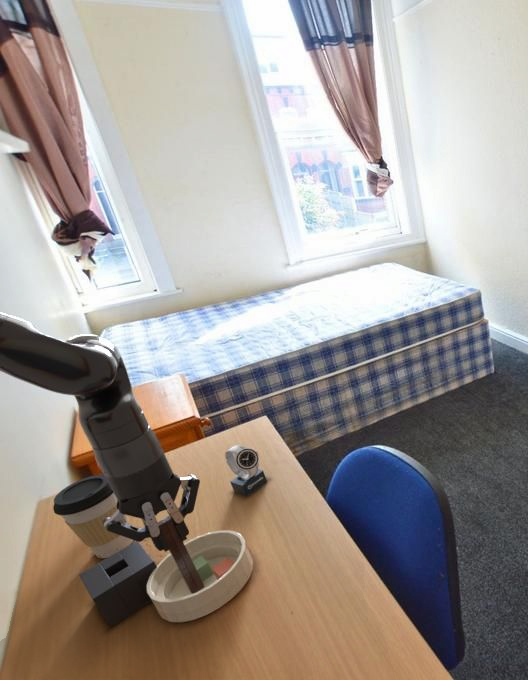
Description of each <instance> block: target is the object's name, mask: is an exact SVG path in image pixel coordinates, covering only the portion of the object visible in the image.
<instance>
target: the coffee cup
mask: <svg viewBox="0 0 528 680" xmlns="http://www.w3.org/2000/svg"><path fill="white" fill-rule="evenodd" d="M52 509H53V512H54V514H55V515H57V516H61V517H62V519H63V520H64V523H65V524H66V525H67V526H68V527H69V529H70V530H71V531H72V532H73V533H74V534H75V535H76V537H77V538H79V540H80V541H81V542H82V543H83V544H84V545H85V546H86V547H87V548H89V550H90V551H92V553H93V554H94V555H95V556H96V557H97V558H99V559H107V558H108V557H110V556H112V555H114V554H115V553H117V552H119V551H120V550H122V549H124V548H125V547H127V546H129V545H131V544H132V543H133V542H134V540H132V539H129V538H126V537H124V536H121V535H118V534H115V533H112V532H109V531H108V530H107V529H106V528H105V526H104V525H103V523H102V522H103V520H104V519H105V518H108V517H111V516H112V515H113V514H114V513H115V512H116V511H117V510H118V509H117V498H116V496H115V494H114V492H113V490H112V489H111V487H110V485H109V483H108V481H107V479H106V477H105V475H104V474H95V475H90V476H87V477H84V478H82V479H79V480H77V481H75V482H73V483H71V484H69V485H68V486H65V488H62V490H60V491H59V492H58V493H57V494H56V495H55V497H54V499H53V507H52ZM124 519H125V520H126V523H127V524H129V525H130V520H129V517H128V515H124Z"/></svg>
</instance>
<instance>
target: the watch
mask: <svg viewBox="0 0 528 680" xmlns="http://www.w3.org/2000/svg"><path fill="white" fill-rule="evenodd" d="M224 457H225V460H226V464H227V465H228V467H229V469H230V470H231V472H233V474H234V475H237V476H236V477H234V478H232V479H231V480H230V481H229V482H230V485H231V487H232V490H233V493H236V494H239V495H242V496H244V497H248V496H249V495H251V494H252V493H253V492H254V491H256V490H257V489H259V488H260V487H261V486H262V485H264V484H265V483H267V482H268V480H267V477H266V474H265V472H264V470H263V469H260V468H259V466H260V463H259V461H260V458H259V457H260V456H259V452H258V451H257V450H254V449H253V448H249V447H247V446H246V445H244V446H243V445H240V444H236V445H233V446H232V447H231V448H229V449H228V450H225V452H224Z"/></svg>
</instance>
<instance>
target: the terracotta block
mask: <svg viewBox="0 0 528 680" xmlns="http://www.w3.org/2000/svg"><path fill="white" fill-rule="evenodd" d="M233 565H234V562H233V561H232V560H231V559H230V558H227V559H226V560H224V561H223V562H221V563H220V564H218V565H217V566H215V567H214V568H212V570H213V572H214V574H215V576H216V579H217V580H218V579H220V578H221V577H222V576H223V575H224V574H225V573H226V572H227V571H228V570H229V569H230V568H231V567H232V566H233Z"/></svg>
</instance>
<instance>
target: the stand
mask: <svg viewBox="0 0 528 680" xmlns="http://www.w3.org/2000/svg"><path fill="white" fill-rule="evenodd" d="M156 568H157V564H156V562H155V561H154V560H153V558H152V557H151V556H150V555H149V553H148V552H147V551H146V549H145V548H144V546H143V545H142V544H141V543H140V542H138V541H133V542H132V543H131V544H130V545H129V546H127V547H125V548H124V549H122V550H120V551H119V552H117V553H115V554H114V555H112V556H110V557H108V558H104V559H103V560H101V561H100V562H98V563H96V564H95V565H93V566H91V567H89V568H87V569H86V570H84V571H82V572H80V573H79V574H78V576H79V578H80V581H81V582H82V584H83V586H84V587H85V589H86V590H87V592H88V594H89V596H90V598H91V599H92V601H93V603H94V604H95V605H96V607H97V610H99V612H100V613H101V615H102V616H103V618H104V620H105V621H106V623H107V625H108V626H109V627H110V628H112V627H114V626H116V625H117V624H119V623H120V622H122V621H123V620H125V619H126V618H127V617H130V616H131V615H132V614H135V612H137V611H138V610H140V609H142V608H143V607H144V606H145V605H147V604H149V603H150V602H152V601H151V599H150V597H149V595H148V594H147V582H148V580H149V577H150V575H151V573H152V572H153V570H154V569H156Z"/></svg>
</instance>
